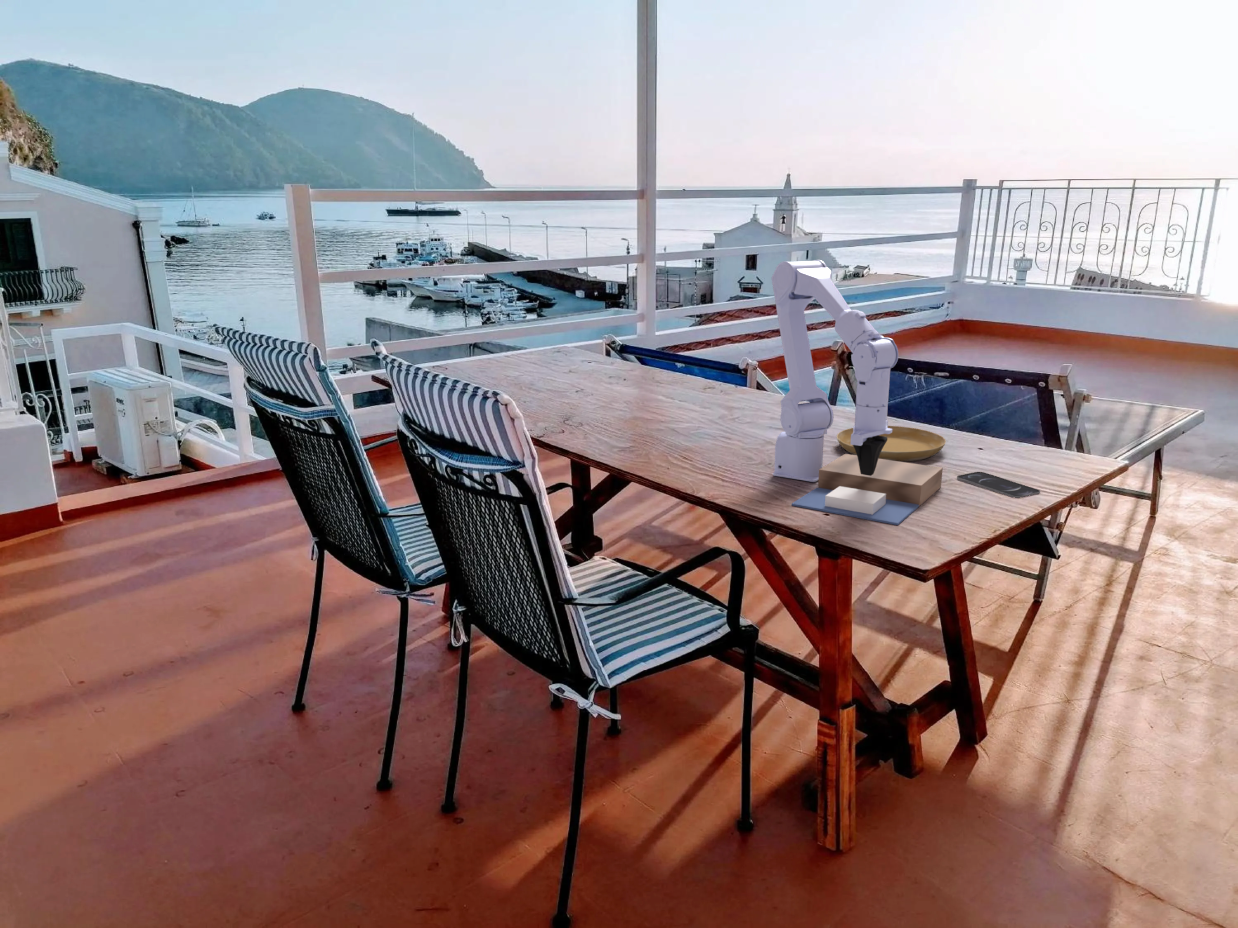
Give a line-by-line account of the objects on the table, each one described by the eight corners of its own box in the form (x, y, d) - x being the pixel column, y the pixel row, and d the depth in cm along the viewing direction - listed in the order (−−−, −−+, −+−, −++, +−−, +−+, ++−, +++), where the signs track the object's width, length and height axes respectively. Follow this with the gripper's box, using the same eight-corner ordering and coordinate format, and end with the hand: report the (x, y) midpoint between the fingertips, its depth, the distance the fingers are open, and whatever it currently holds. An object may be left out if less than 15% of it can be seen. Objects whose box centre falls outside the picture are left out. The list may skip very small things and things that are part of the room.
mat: (791, 505, 158) (791, 503, 158) (817, 489, 167) (817, 487, 167) (897, 525, 146) (898, 523, 146) (918, 506, 156) (918, 504, 156)
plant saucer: (881, 470, 180) (882, 455, 179) (815, 445, 202) (816, 431, 201) (968, 457, 189) (969, 443, 188) (896, 434, 210) (897, 421, 209)
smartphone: (1016, 497, 159) (954, 476, 172) (1015, 501, 160) (953, 480, 172) (1043, 491, 162) (980, 470, 175) (1042, 495, 163) (979, 474, 176)
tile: (839, 486, 161) (839, 496, 161) (825, 495, 155) (824, 505, 156) (886, 493, 156) (885, 504, 156) (873, 503, 150) (872, 514, 151)
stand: (818, 488, 167) (818, 469, 166) (844, 471, 178) (845, 453, 177) (919, 505, 156) (921, 485, 155) (940, 487, 167) (942, 467, 166)
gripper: (879, 413, 148) (874, 487, 152) (905, 399, 160) (900, 468, 163) (841, 409, 152) (837, 481, 156) (869, 396, 164) (864, 463, 167)
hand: (867, 474), depth 160 cm, fingers closed
